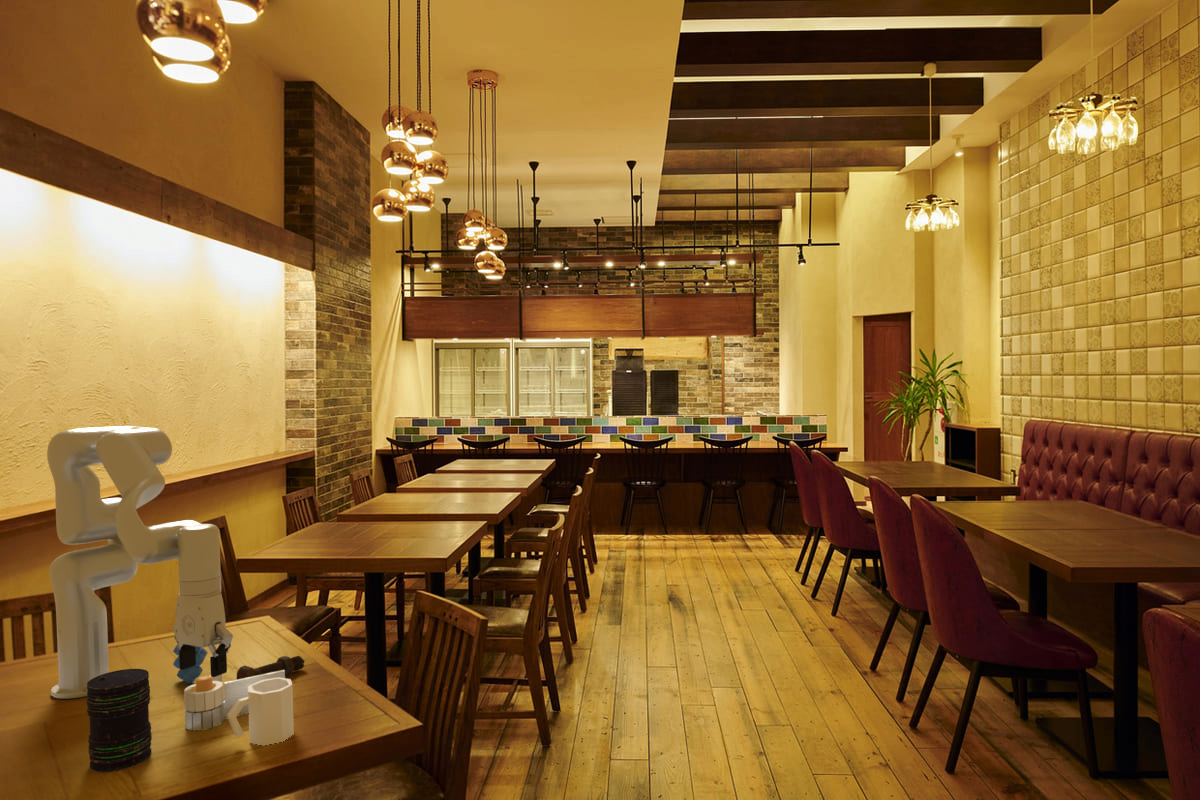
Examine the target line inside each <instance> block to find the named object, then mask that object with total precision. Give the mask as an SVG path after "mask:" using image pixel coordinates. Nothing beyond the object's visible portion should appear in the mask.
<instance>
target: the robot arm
mask: <svg viewBox="0 0 1200 800" xmlns="http://www.w3.org/2000/svg"><path fill="white" fill-rule="evenodd" d="M172 453H173V446H172V442H171V439H170V438H169V436H168V435H167V434H166V433H165V432H164V431H163V430H162V429H160V428H157V427H145V426H137V425H136V426H135V425H134V426H133V425H124V426H123V425H120V426H119V425H118V426H117V425H116V426H99V427H98V426H96V427H81V428H72V429H67V430H63V431H59V432H58V433H56V434H55V435H53V436H52V437H51V439H50V441H49V443H48V446H47V451H46V457H47V463H48V466H49V470H50V473H51V475H52V478H53V482H54V491H55V492H54V493H55V495H54V496H55V524H56V534H57V537H58V540H59V541H60V542H61V543H62V544H64V545H68V546H69V545H72V546H75V545H83V544H84V545H85V544H91V543H96V542H101V541H102V542H103V541H107V544H105V545H100V546H93V547H88V548H87V547H86V548H82V549H77V550H72V551H69V552H66V553H63V554H61V555H59V556H58V557H56V558H55V559H54V560H53V561H52V562H51V564H50V565H49V574H48V575H49V581H50V584H51V587H52V588H51V589H52V592H53V597H54V603H55V617H56V619H55V620H56V638H57V639H56V640H57V642H56V643H57V660H58V661H57V664H58V667H57V669H58V670H57V671H58V683H57V684H56V685H54V686H52V688H51V689H50V696H51V697H52V696H53V698H56V699H62V700H65V699H66V700H67V699H77V698H78V699H79V698H84V697H87V691H88V690H87V683H88V681H90V680H91V679H93V678H95V677H97V676H99V675H102V674H105V673H109V672H110V669H109V666H110V665H109V639H108V638H109V637H108V613H107V607H106V604H105V603H104V601H103V600H102V599H101V598H100V597H99V596H98V595H97V594H96V593H95V591H96V590H99V589H102V588H103V589H104V588H107V587H111V586H115V585H119V584H123V583H127V582H129V581H131V579H134V577H135V576H136V574H137V573H138V572H137V571H138V569H139V568H138V567H139V564H141V565H153V564H156V563H161V562H166V561H171V560H177V561H178V562H177V564H178V567H177V568H178V590H179V593H178V595H177V599H176V606H175V616H174V617H175V618H174V620H175V623H174V624H173V625H172V631H173V633H174V640H175V642H176V643H177V644H176V645H177V648H178V649H179V663H180V669H181V670H184V669H186V668H189V667H192V666H195V665H196V651H195V647H200V648H204V649H205V648H208V649H209V651H210V654H211V655H212V656H210V660H209V661H210V662H209V663H210V675H211V677H216V676H219V675H221V674H222V675H224V674H226V673H227V671H228V660H227V659H228V658H227V654H228V653H229V650H230V648H231V646H232V645H231V643H232V640H233V637H234V635H233V633H232V632H230V630H229V629H227V626H226V625H227V624H226V612H225V606H224V605H225V604H224V598H223V596H222V573H221V542H220V540H221V539H220V537H221V536H220V529H219V527H218V526H217V525H216V524H213V523H201V522H199V521H197V520H192V519H183V520H178V521H172V522H165V523H158V524H153V525H147V526H146V525H145V524H144V523H143V521H142V519H141V518H140V515H139V514H138V512H137V509H139V508H141V507H142V506H144V505H146V504H147V503H149V502H151V501H153V500H154V499H155V498H156V497H158V496H159V495H160V494H161V493H162V491H164V488H165V485H166V481H165V479H166V478H165V477H164V475H163V474H162V472H161V471H160V469H159V468H158V466H159V465H163V464H165V463H166V462H168V461H169V459H170V458H171V456H172V455H173V454H172ZM98 465H101V466H103V467H104V469H105V470H106V472H107V474H108V476H109V477H110V480H111V481H112V482H113V484H114V485H115V488H116V489H117V491H118V492H119V494H120V497H110V498H109V497H108V498H102V497H101V482H100V479H99V477H98V475H97V474H96V473H95V471H93V470H92V469H91V468H90V466H98ZM157 465H158V466H157ZM216 645H218V647H216ZM180 649H181V650H180ZM180 669H179V670H180Z"/></svg>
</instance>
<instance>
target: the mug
mask: <svg viewBox="0 0 1200 800" xmlns="http://www.w3.org/2000/svg"><path fill="white" fill-rule="evenodd" d="M293 693H294V692H293V682H292V680H291V678H287V677H285V678H280V677H278V678H271V679H265V680H261V681H259V682H256V683H254V684H252V685H250V686H248V697H245V698H242V699H238V701H237V702H236V703H235V705H234V706H233V707H232V709H231V710H230V711H229V713H228V714H227V717H228V719H227V720H228V722H229V724H230V727H231V729H232V732H233V734H234V736H236V737H237V738H238V739H239V738H241V737H242V736H244V735H245V733H244V731H243V729H242V727H241V725H240V723H239V720H238V719H237V717H238V716H237V715H238V714H239V712H240V711H241V709H242V707H243V706H244V705H248V710H249V714H248V734H249V735H248V736H249V737H248V738H249V739H248V740H249V744H250V743H253V744H252V745H255V744H257V745H256V746H259V745H262V746H261V747H266V746H265V745H267V746H270V745H269V744H272V745H275V744H274V743H277V744H280V743H279V742H282V743H284V742H286V741H287V740H289V739H290V738H292V737H293V736H294V735H295V730H294V728H295V727H294V725H295V724H294V722H295V721H294V698H293V697H294V696H293ZM292 735H293V736H292ZM291 736H292V737H291ZM289 737H290V738H289ZM288 738H289V739H288ZM286 739H287V740H286ZM285 740H286V741H285ZM283 741H284V742H283Z"/></svg>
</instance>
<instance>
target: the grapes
mask: <svg viewBox="0 0 1200 800" xmlns="http://www.w3.org/2000/svg"><path fill="white" fill-rule="evenodd" d="M180 650H181V649H180ZM195 651H196V665H195V666H192V667H189V668H186V669H184V670H181V669H180V663H179V649H178V648H177V644H176V645H175V646H174V648H173V650H172V652H173V653H174V654H175V655H176V656H177V657H176V658H175V660H174V661H173V663H172V665H173V666H174V667H175V668H176V669H179V670H178V672H177V674H176V676H177V678H179V679H180V680H182V681H183V682H184V683H186V684H188V685H189V684H191V685H192V684H193V682H196V679H197V678H200V677H201V675H202V672H203V668H202V667H201V665H202V664H203V662H204V661H205V659H206V657H207V655H208V654H209V653H208V651H207V650H206V649H205V647H204V648H200V647H195Z"/></svg>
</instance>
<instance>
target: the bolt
mask: <svg viewBox="0 0 1200 800" xmlns="http://www.w3.org/2000/svg"><path fill="white" fill-rule="evenodd" d="M303 668H305V659H304V658H303V657H302V656H300V655H296V656H293V657H290V656H287V655H283V656H279V657H278V658H277V660H276V662H272V663H269V664H266V665H262V666H260V667H259V666H258V667H256V668H255V667H254V668H253V667H252V666H249V665H243V666H240V667H239V668H238V670H237V671H236V680H238V679H243V678H247V677H252V676H257V675H262V674H266V673H271V672H276V671H281V670H284V671H285V678H287V677H286V676H288V677H290V676H289V675H291V676H292V674H293V672H295V671H299V670H302V669H303Z"/></svg>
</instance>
